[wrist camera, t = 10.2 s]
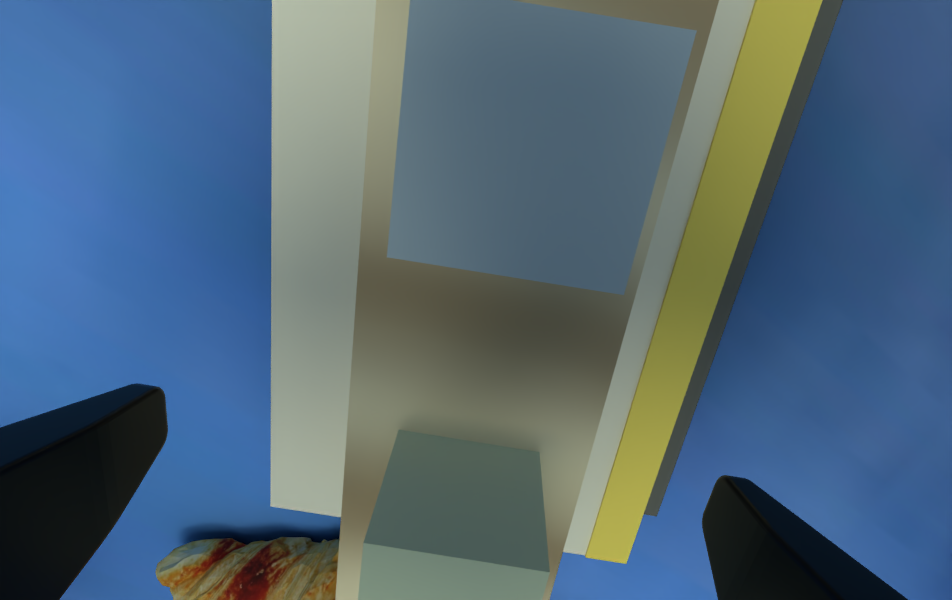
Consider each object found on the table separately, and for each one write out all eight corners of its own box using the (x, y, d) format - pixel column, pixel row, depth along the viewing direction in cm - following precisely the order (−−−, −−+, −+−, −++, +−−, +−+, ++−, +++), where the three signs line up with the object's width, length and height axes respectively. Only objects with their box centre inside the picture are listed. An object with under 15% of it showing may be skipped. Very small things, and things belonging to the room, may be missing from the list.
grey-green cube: (514, 556, 15) (515, 692, 11) (385, 536, 15) (351, 666, 11) (539, 452, 13) (549, 572, 10) (398, 429, 13) (363, 543, 10)
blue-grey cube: (590, 232, 11) (623, 295, 8) (422, 205, 11) (387, 256, 8) (633, 47, 10) (697, 30, 7) (443, 15, 10) (411, -17, 6)
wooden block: (527, 526, 21) (533, 655, 16) (372, 502, 21) (333, 624, 16) (679, -97, 13) (774, -195, 8) (434, -137, 13) (393, -257, 8)
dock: (629, 508, 24) (646, 566, 21) (298, 456, 24) (269, 508, 21) (854, -166, 15) (939, -227, 12) (317, -255, 15) (271, -337, 12)
